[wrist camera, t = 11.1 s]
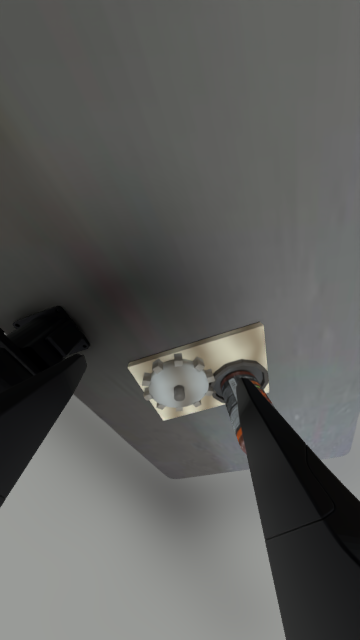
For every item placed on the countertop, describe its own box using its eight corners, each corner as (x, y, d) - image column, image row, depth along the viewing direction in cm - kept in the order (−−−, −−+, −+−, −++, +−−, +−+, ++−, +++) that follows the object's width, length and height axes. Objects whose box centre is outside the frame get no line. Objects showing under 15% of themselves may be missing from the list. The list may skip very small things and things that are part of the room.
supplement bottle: (262, 374, 25) (324, 463, 15) (241, 397, 28) (283, 487, 18) (231, 364, 24) (277, 455, 14) (212, 389, 26) (240, 483, 16)
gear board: (163, 415, 30) (163, 438, 27) (129, 362, 24) (122, 384, 20) (266, 387, 29) (280, 408, 25) (259, 321, 22) (277, 337, 19)
